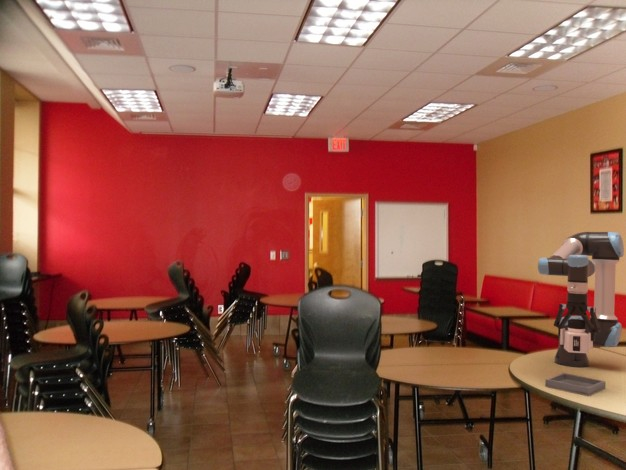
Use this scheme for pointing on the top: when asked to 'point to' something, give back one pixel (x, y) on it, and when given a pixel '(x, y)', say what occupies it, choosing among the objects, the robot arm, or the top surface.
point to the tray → (575, 384)
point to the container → (576, 337)
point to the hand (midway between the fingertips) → (576, 346)
